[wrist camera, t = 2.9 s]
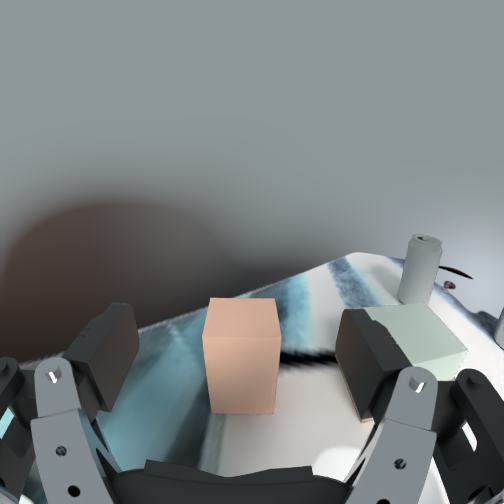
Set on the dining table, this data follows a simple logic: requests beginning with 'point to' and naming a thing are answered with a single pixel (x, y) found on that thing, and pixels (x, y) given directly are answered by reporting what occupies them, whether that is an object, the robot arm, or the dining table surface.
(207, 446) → the dining table surface
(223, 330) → the terracotta pillar block
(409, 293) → the beverage can
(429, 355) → the sage top block
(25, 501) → the square plate
